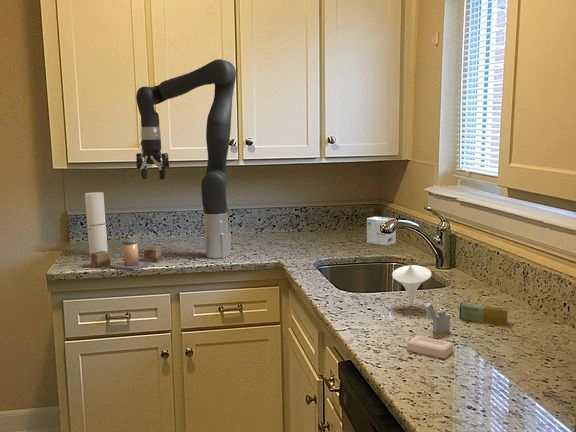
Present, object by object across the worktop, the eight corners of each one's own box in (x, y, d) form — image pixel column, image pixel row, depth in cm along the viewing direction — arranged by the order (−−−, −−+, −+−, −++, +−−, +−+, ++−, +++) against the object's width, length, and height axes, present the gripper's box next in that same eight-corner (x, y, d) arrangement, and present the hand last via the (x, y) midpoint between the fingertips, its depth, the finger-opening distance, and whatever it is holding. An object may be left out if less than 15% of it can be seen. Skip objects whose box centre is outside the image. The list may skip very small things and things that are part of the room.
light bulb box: (396, 243, 254) (396, 218, 253) (387, 246, 250) (387, 220, 248) (375, 240, 262) (375, 215, 260) (366, 242, 257) (366, 217, 255)
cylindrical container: (102, 256, 242) (97, 194, 238) (86, 255, 244) (81, 194, 240) (111, 252, 249) (106, 192, 245) (95, 252, 250) (90, 192, 246)
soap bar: (416, 344, 142) (416, 334, 142) (453, 352, 137) (453, 342, 137) (406, 351, 138) (406, 341, 138) (444, 360, 133) (444, 349, 132)
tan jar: (142, 262, 225) (140, 239, 224) (133, 266, 220) (131, 241, 219) (130, 262, 228) (128, 238, 226) (120, 265, 223) (119, 241, 221)
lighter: (445, 329, 151) (445, 298, 150) (450, 331, 149) (450, 300, 148) (422, 334, 148) (423, 302, 147) (427, 336, 146) (427, 304, 145)
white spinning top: (426, 313, 163) (426, 270, 161) (387, 308, 168) (387, 266, 166) (434, 302, 172) (435, 261, 171) (397, 298, 177) (398, 258, 175)
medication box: (458, 319, 158) (458, 304, 158) (460, 316, 161) (461, 301, 160) (506, 326, 153) (507, 310, 152) (508, 322, 155) (508, 307, 155)
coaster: (151, 264, 226) (151, 262, 226) (133, 270, 217) (133, 268, 217) (130, 262, 231) (129, 260, 231) (112, 268, 222) (111, 266, 222)
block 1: (110, 265, 226) (109, 252, 226) (98, 268, 223) (97, 254, 222) (104, 263, 230) (103, 250, 229) (91, 266, 227) (90, 252, 226)
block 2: (161, 259, 234) (161, 247, 233) (156, 262, 229) (155, 250, 228) (149, 259, 235) (148, 247, 234) (144, 262, 230) (143, 249, 229)
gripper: (171, 137, 239) (173, 178, 241) (142, 138, 245) (145, 178, 247) (159, 138, 232) (162, 180, 235) (130, 138, 238) (133, 179, 241)
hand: (153, 179), depth 241 cm, fingers open, 8 cm apart
